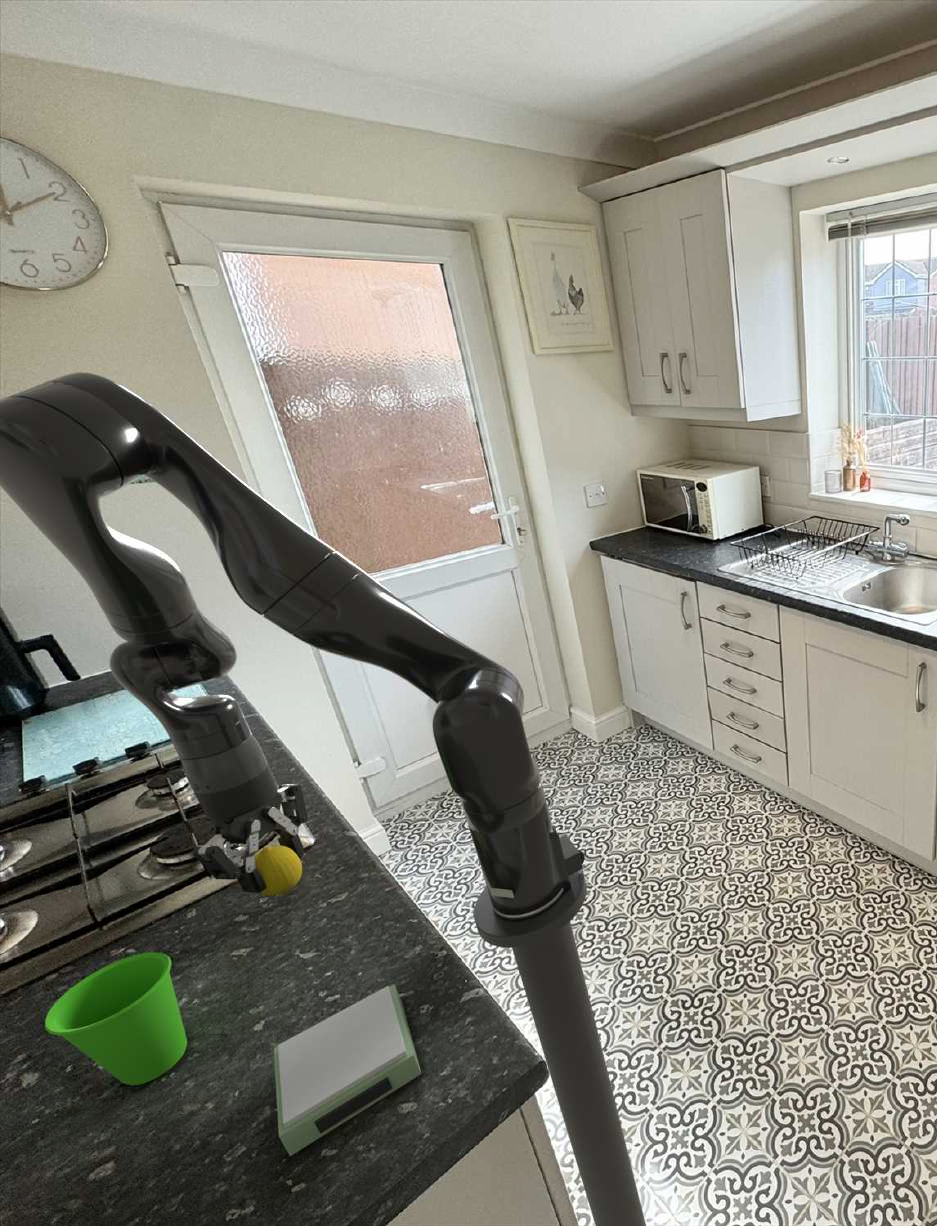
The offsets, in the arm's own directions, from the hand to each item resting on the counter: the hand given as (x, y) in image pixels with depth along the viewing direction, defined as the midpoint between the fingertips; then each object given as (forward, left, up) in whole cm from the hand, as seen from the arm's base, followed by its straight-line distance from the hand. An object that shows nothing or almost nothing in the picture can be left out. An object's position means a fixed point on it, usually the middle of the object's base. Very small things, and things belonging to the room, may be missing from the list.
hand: (277, 873), depth 89 cm
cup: (+12, +20, -4) cm, 24 cm away
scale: (-4, +36, -4) cm, 36 cm away
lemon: (0, 0, -4) cm, 4 cm away
